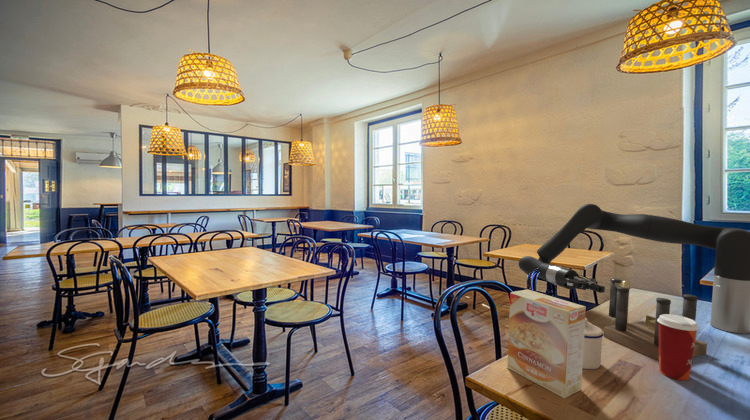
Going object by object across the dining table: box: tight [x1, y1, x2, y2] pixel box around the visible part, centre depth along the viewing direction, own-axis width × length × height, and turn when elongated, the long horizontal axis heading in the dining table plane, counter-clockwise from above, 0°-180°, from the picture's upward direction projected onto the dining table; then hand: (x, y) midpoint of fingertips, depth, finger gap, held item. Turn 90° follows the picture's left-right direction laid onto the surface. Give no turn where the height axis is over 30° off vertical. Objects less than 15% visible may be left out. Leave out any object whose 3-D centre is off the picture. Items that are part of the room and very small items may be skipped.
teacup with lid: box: [582, 317, 604, 370], centre depth 91 cm, size 12×9×12 cm
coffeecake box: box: [506, 288, 587, 399], centre depth 81 cm, size 15×7×20 cm, turn 31°
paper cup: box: [657, 313, 700, 382], centre depth 84 cm, size 8×8×14 cm
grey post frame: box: [608, 278, 631, 321], centre depth 110 cm, size 10×3×14 cm, turn 163°
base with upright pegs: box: [603, 287, 708, 361], centre depth 101 cm, size 17×17×16 cm
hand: (603, 289), depth 118 cm, fingers closed
